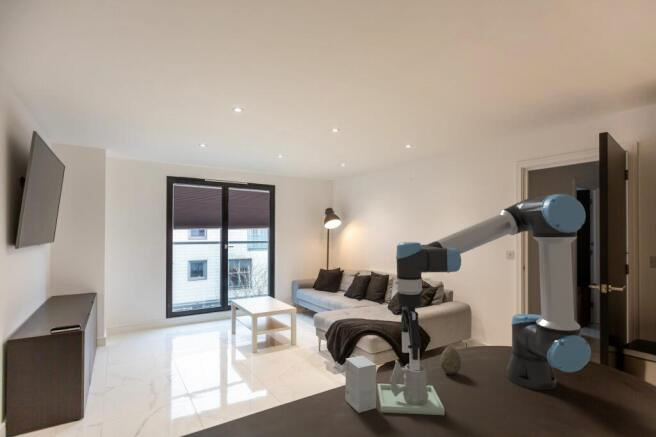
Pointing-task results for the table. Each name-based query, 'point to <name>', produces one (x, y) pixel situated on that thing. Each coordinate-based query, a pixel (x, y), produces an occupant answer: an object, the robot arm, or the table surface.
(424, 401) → the mug
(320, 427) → the table surface
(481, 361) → the table surface
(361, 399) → the small box
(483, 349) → the table surface
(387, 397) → the tray
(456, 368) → the decorative egg
